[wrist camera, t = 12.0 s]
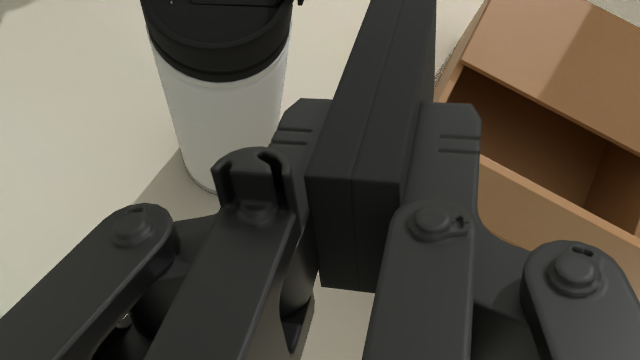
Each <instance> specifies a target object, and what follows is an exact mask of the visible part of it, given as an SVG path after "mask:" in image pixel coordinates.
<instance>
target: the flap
mask: <svg viewBox="0 0 640 360" xmlns="http://www.w3.org/2000/svg"><path fill="white" fill-rule="evenodd" d="M477 208H478V215H479V217H480V219H481V221H482V223H483V225H484V226H485V227H486V228H488V229H490V230H491V231H493V232H495V233H497V234H499V235H501V236H503V237H505V238H506V239H508V240H510V241H512V242H514V243H516V244H518V245H519V246H521V247H523V248H525V249H527V250H529V251H533V250H534V249H536V248H537V247H538V246H540V245H541V244H544V243H548V242H552V241H557V240H568V241H579V242H582V243H585V244H588V245H591V246H594V247H597V248H599V249H600V250H602V251H603V252H605V253H606V254H608V255H609V256H611V257H612V258H613V259H614V260H615V261H616V262H617V264H618V265H619V266H620V268H621V269H622V270H623V271H624V273H625V275H626V277H627V279H628V281H629V283H630V285H631V287H632V289H633V290H634V292H635V294H636V296H637V298H638V300H639V302H640V239H639V238H637V237H635V236H634V235H632V234H630V233H628V232H626V231H624V230H622V229H620V228H618V227H617V226H615V225H613V224H611V223H609V222H607V221H605V220H603V219H602V218H600V217H598V216H596V215H594V214H592V213H590V212H588V211H586V210H585V209H583V208H581V207H579V206H577V205H575V204H573V203H571V202H570V201H568V200H566V199H564V198H562V197H560V196H558V195H556V194H554V193H553V192H551V191H549V190H547V189H545V188H543V187H541V186H539V185H538V184H536V183H534V182H532V181H530V180H528V179H526V178H524V177H522V176H521V175H519V174H517V173H515V172H513V171H511V170H509V169H507V168H506V167H504V166H502V165H500V164H498V163H496V162H494V161H492V160H490V159H489V158H487V157H485V156H483V155H481V154H480V163H479V182H478V201H477Z"/></svg>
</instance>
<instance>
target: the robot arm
mask: <svg viewBox="0 0 640 360" xmlns="http://www.w3.org/2000/svg"><path fill="white" fill-rule="evenodd" d="M435 35H436V0H371V1H370V4H369V7H368V9H367V12H366V14H365V17H364V20H363V22H362V25H361V27H360V30H359V33H358V35H357V38H356V40H355V43H354V46H353V48H352V51H351V53H350V56H349V59H348V61H347V64H346V66H345V69H344V72H343V74H342V77H341V80H340V82H339V85H338V87H337V90H336V93H335V95H334V98H333V100H330V99H306V98H300V99H299V100H298V101H297V102H296V103H294V104H293V105H292V106H291V107H290V108H288V109H287V110H286V111H285V112H284V114H283V116H282V118H281V120H280V122H279V124H278V127H277V131H275V133H274V135H273V137H272V139H271V144H270V143H269V145H268V147H263V146H257V147H245V148H242V149H239V150H235V151H232V152H230V153H228V154H227V155H225V156H223V157H222V158H220V159H218V161H217V162H216V163H215V164H214V165H213V166H212V167H211V169H210V171H211V174H212V178H213V181H214V184H215V188H216V191H217V195H218V198H219V201H220V205H221V208H220V210H219V212H218V213H216V214H214V215H210V216H205V217H200V218H194V219H188V220H181V221H175V222H173V220H172V218H171V216H170V214H169V212H168V211H167V210H166V209H164V208H163V207H161V206H159V205H157V204H149V203H141V204H135V205H129V206H127V207H124V208H122V209H120V210H117V211H115V212H114V213H112V214H111V215H110V216H108V217H107V218H105V219H104V220H103V221H102V222H101V223H100V224H99V225H98V226H97V227H95V228H94V229H93V230H92V231H91V232H90V233H89V234H88V235H87V236H86V237H85V238H84V239H83V240H82V241H81V242H80V243H79V244H78V245H77V246H76V247H75V248H74V249H73V250H72V251H71V252H70V253H68V254H67V255H66V256H65V257H64V258H63V259H62V260H61V261H60V262H59V263H58V264H57V265H56V266H55V267H54V268H53V269H52V270H51V271H50V272H49V273H48V274H47V275H46V276H45V277H44V278H42V279H41V280H40V281H39V282H38V283H37V284H36V285H35V286H34V287H33V288H32V289H31V290H30V291H29V292H28V293H27V294H26V295H25V296H24V297H23V298H22V299H21V300H20V301H19V302H18V303H16V304H15V305H14V306H13V307H12V308H11V309H10V310H9V311H8V312H7V313H6V314H5V315H4V316H3V317H2V318H1V319H0V360H300V359H301V356H302V352H303V349H304V345H305V342H306V338H307V335H308V331H309V328H310V324H311V321H312V317H313V314H314V303H315V300H314V295H313V286H314V283H315V279H316V276H317V273H318V269H319V276H320V282H321V287H328V288H336V289H345V290H353V291H361V292H369V293H375V298H374V303H373V307H372V312H371V317H370V322H369V327H368V332H367V337H366V341H365V346H364V351H363V356H362V360H640V302H639V300H638V298H637V296H636V294H635V292H634V290H633V289H632V287H631V285H630V283H629V281H628V279H627V277H626V275H625V273H624V271H623V270H622V269H621V268H620V266H619V265H618V264H617V262H616V261H615V260H614V259H613V258H612V257H611V256H609V255H608V254H606V253H605V252H603V251H602V250H600V249H599V248H597V247H594V246H591V245H588V244H585V243H582V242H579V241H568V240H557V241H552V242H548V243H544V244H541V245H540V246H538V247H537V248H536V249H534V250H533V251H528V250H525V249H523V248H520V247H517V246H514V245H512V244H509V243H507V242H505V241H503V240H501V239H499V238H498V237H496V236H495V235H494V234H492V233H491V232H490V231H489V230H488V229H487V228H486V227H485V226H484V225H483V223H482V221H481V219H480V217H479V215H478V208H477V201H478V182H479V163H480V143H481V124H482V119H481V118H480V116H479V114H478V113H477V111H476V110H475V108H474V107H473V105H472V104H466V103H442V102H433V98H434V73H435ZM126 314H128V315H127V316H126V317H125V318H124V316H125V315H126ZM123 318H124V319H123ZM122 319H123V320H122Z"/></svg>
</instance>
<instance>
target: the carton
mask: <svg viewBox="0 0 640 360" xmlns="http://www.w3.org/2000/svg"><path fill="white" fill-rule="evenodd" d="M433 102H442V103H466V104H472V105H473V107H474V108H475V110H476V111H477V113H478V114H479V116H480V118H481V119H482V124H481V143H480V154H481V155H483V156H485V157H487V158H489V159H490V160H492V161H494V162H496V163H498V164H500V165H502V166H504V167H506V168H507V169H509V170H511V171H513V172H515V173H517V174H519V175H521V176H522V177H524V178H526V179H528V180H530V181H532V182H534V183H536V184H538V185H539V186H541V187H543V188H545V189H547V190H549V191H551V192H553V193H554V194H556V195H558V196H560V197H562V198H564V199H566V200H568V201H570V202H571V203H573V204H575V205H577V206H579V207H581V208H583V209H585V210H586V211H588V212H590V213H592V214H594V215H596V216H598V217H600V218H602V219H603V220H605V221H607V222H609V223H611V224H613V225H615V226H617V227H618V228H620V229H622V230H624V231H626V232H628V233H630V234H632V235H634V236H635V237H637V238H639V239H640V28H639V27H637V26H635V25H633V24H631V23H629V22H627V21H625V20H623V19H621V18H619V17H617V16H615V15H613V14H611V13H609V12H607V11H605V10H604V9H602V8H600V7H598V6H596V5H594V4H592V3H590V2H588V1H586V0H485V1H484V2H483V4H482V5H481V7H480V8H479V10H478V12H477V13H476V15H475V16H474V18H473V19H472V21H471V22H470V24H469V26H468V27H467V29H466V30H465V32H464V33H463V35H462V37H461V38H460V40H459V42H458V44H457V46H456V48H455V50H454V52H453V54H452V56H451V58H450V59H449V61H448V63H447V65H446V67H445V69H444V71H443V73H442V75H441V77H440V79H439V81H438V83H437V85H436V87H435V88H434V98H433ZM487 229H488V228H487ZM488 230H489V231H490V232H491V233H492V234H494V235H495V236H496V237H498V238H499V239H501V240H503V241H505V242H507V243H509V244H512V245H514V246H517V247H520V248H523V247H521V246H519V245H518V244H516V243H514V242H512V241H510V240H508V239H506V238H505V237H503V236H501V235H499V234H497V233H495V232H493V231H491V230H490V229H488ZM523 249H525V248H523ZM525 250H527V249H525ZM528 251H529V250H528Z"/></svg>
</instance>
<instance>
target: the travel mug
mask: <svg viewBox="0 0 640 360" xmlns="http://www.w3.org/2000/svg"><path fill="white" fill-rule="evenodd" d="M293 1H294V0H140V2H141V6H142V10H143V14H144V17H145V21H146V29H147V33H148V37H149V41H150V44H151V47H152V51H153V54H154V58H155V61H156V65H157V68H158V72H159V75H160V79H161V82H162V86H163V89H164V93H165V96H166V100H167V103H168V107H169V110H170V114H171V117H172V121H173V124H174V128H175V131H176V135H177V138H178V142H179V145H180V149H181V152H182V156H183V159H184V163H185V166H186V169H187V171H188V173H189V175H190V177H191V178H192V179H193V180H194V182H195V183H196V184H198V185H199V186H200V187H201V188H203V189H205V190H206V191H208V192H210V193H213V194H216V195H217V191H216V188H215V184H214V181H213V178H212V174H211V171H210V169H211V167H212V166H213V165H214V164H215V163H216V162H217V161H218V159H220V158H222V157H223V156H225V155H227V154H228V153H230V152H232V151H235V150H239V149H242V148H245V147H257V146H263V147H268V145H269V143H270V144H271V139H272V137H273V135H274V133H275V131H277V127H278V123H279V115H280V108H281V100H282V93H283V86H284V78H285V71H286V63H287V56H288V48H289V40H290V33H291V25H292V23H291V15H292V7H293V4H292V3H293ZM303 1H304V0H298V5H301V6H302V4H303Z"/></svg>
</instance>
